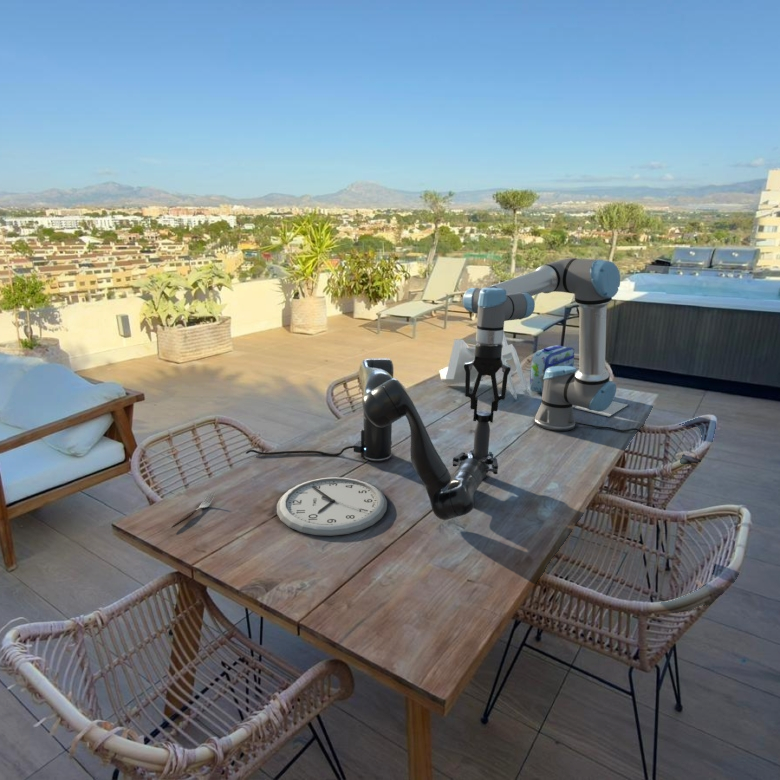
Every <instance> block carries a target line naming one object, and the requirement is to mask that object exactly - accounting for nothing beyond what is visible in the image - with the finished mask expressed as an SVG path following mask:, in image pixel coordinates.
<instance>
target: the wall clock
mask: <svg viewBox="0 0 780 780" xmlns="http://www.w3.org/2000/svg"><path fill="white" fill-rule="evenodd" d="M387 509H388V500H387V498H386V496H385V494H384V493H383V492H382V491H381V490H380V489H379V488H377V487H376V486H374V485H372V484H371V483H369V482H365V481H362V480H359V479H355V478H349V477H338V476H337V477H335V476H333V477H332V476H331V477H322V478H317V479H312V480H307V481H305V482H302V483H299V484H297V485H295V486H293V487H292V488H290V489H288V490H287V491H286V492H285V493H284V494H283V495H281V496H280V498H279V499H278V502H277V503H276V515H277V517H278V518H279V520H280V521H281V522H282V523H283V524H285V525H286V526H287V527H288V528H290V529H293V530H295V531H297V532H299V533H303V534H308V535H312V536H327V537H328V536H329V537H331V536H332V537H333V536H342V535H350V534H352V533H356V532H361V531H363V530H366V529H368V528H369V527H372V526H373V525H375V524H376V523H378V522H379V521H380V520H381V519H382V518H383V517H384V516H385V514H386V512H387Z"/></svg>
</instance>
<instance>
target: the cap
mask: <svg viewBox="0 0 780 780" xmlns="http://www.w3.org/2000/svg"><path fill="white" fill-rule="evenodd" d="M490 417H491V412H490V411H486V410H479V411H477V414H476V422H478V421H479V422H488V423H489V422H490Z"/></svg>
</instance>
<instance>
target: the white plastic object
mask: <svg viewBox="0 0 780 780" xmlns="http://www.w3.org/2000/svg"><path fill="white" fill-rule="evenodd" d="M501 345H502V354H501V360H502V364H505V365H507V366H508V365H509V364H508V361H510V360H513V363H514V366H515V369H516V372H517V376H518V380H519V382H520V385H521V389H522V391H523V393H524V395H525V396H526V397H528V396H531V395H530V389H529V388H528V387H529V386H528V384H527V381H526V378H525V375H524V371H523V369H522V368H523V367H522V366H521V362H520V359H519V355H518V352H517V349H516V347H515V346H514V345H513V343H511V344H508V341H507V337H506V334H505V331H504V330H503V342H502V343H501ZM474 358H475V345H473V346H469V345H468V343H466V342H465V340H464V339H463V338H460V339H458V338H454V340H453V344H452V349H451V353H450V357H449V362H448V366H446V367H444V368H442V369H440V370H439V371H438V372H439V376H440V381H442V383H443V384H444V385H445V386H449V385H458V384H465V380H466V372H465V369H464V364H465V363H470V362H473V360H474ZM477 375H478V372H477V370H476V368H475V367H474V365H473V366H472V369H471V370H470V383H473V384H475V382H476V378H477ZM486 376H487V375H482V377H481V380H480V382H482V381H484V378H485V377H486ZM507 386H508V390H509V393H510V394H511V395H512V397H513V398H514V399H515V400H517V392H516V391H517V390H516V388H515V385H514V381H513V378H512V375H511V371H510V372H509V374H508V377H507Z"/></svg>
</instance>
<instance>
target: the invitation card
mask: <svg viewBox="0 0 780 780" xmlns="http://www.w3.org/2000/svg"><path fill="white" fill-rule="evenodd" d="M628 406H629V404H627V403H623V402H618V401H614V400H613V401H612V403H611V404H610V405H609V407H608V408H607V409H605V410H604V411H601V412H598V411H594V410H589V409H587V408H583V407H580V406H577V405H575V406H574V407H573V409H575V410H581V411H584V412H587V413H593V414H596V415H600V416H604V417H608V418H609V417H611V416H613V415H614V414H616V413H617V412H619V411H621V410H623V409H624V408H626V407H628Z"/></svg>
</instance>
